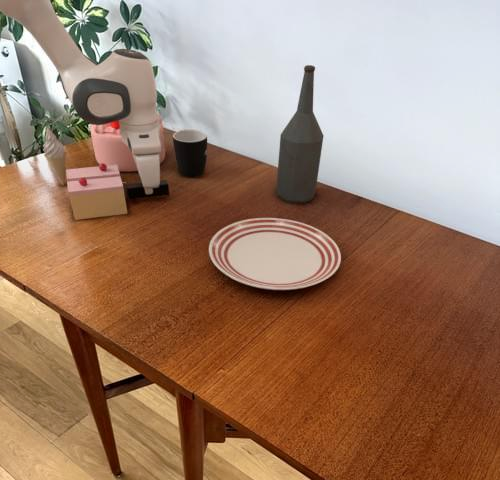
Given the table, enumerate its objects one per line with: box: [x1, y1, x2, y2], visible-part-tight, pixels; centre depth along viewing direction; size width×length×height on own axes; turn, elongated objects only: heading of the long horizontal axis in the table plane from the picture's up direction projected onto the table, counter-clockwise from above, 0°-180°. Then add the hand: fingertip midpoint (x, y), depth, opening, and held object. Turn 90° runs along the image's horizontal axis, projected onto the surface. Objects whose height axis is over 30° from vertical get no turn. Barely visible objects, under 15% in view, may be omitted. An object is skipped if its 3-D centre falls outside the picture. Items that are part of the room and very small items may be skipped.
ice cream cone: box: [42, 125, 67, 186], centre depth 115 cm, size 5×5×15 cm
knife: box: [122, 179, 170, 201], centre depth 113 cm, size 23×2×4 cm, turn 108°
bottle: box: [275, 64, 324, 204], centre depth 110 cm, size 10×10×30 cm
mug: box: [172, 128, 208, 178], centre depth 126 cm, size 12×9×10 cm
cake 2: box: [89, 113, 166, 173], centre depth 129 cm, size 20×20×14 cm
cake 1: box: [65, 163, 128, 221], centre depth 110 cm, size 12×12×9 cm
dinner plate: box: [208, 217, 342, 291], centre depth 97 cm, size 28×27×3 cm
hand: (147, 189), depth 114 cm, fingers closed on knife, 2 cm apart
